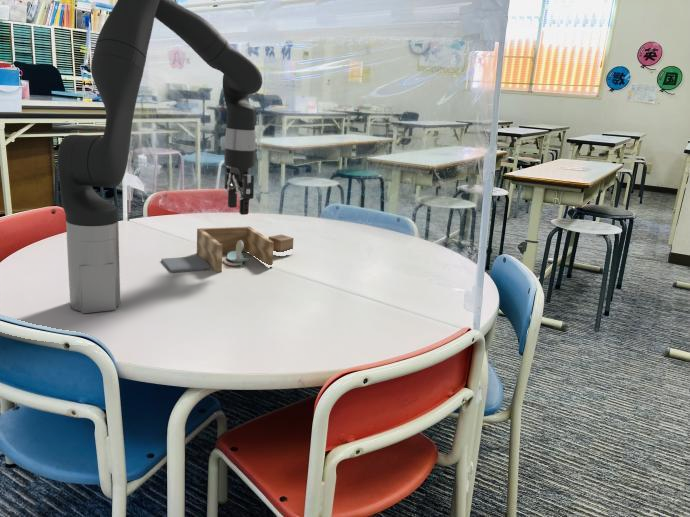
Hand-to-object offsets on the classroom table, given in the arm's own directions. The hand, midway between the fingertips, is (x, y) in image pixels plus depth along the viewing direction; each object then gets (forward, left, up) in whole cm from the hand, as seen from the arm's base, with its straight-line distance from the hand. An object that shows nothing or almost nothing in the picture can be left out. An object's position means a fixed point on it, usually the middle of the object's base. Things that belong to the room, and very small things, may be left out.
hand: (237, 210), depth 142 cm
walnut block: (+5, -15, -14) cm, 21 cm away
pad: (+1, +13, -14) cm, 19 cm away
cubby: (+2, 0, -14) cm, 14 cm away
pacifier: (0, 0, -14) cm, 14 cm away
